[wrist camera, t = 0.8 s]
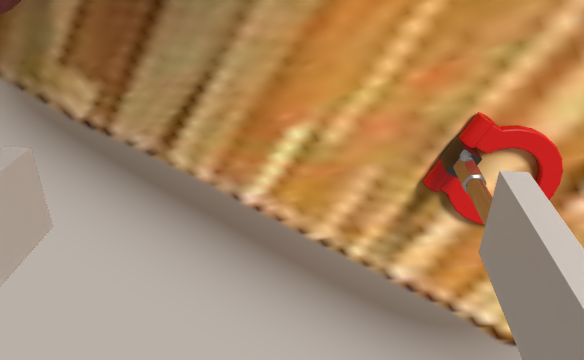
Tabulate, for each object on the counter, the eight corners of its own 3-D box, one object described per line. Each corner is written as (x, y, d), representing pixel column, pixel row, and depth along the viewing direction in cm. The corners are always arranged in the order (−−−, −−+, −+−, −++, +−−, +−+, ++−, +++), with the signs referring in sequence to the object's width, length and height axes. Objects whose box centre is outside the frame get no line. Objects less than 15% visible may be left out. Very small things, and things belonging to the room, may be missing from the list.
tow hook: (580, 154, 39) (483, 97, 37) (696, 269, 28) (562, 196, 25) (504, 232, 44) (413, 185, 42) (576, 361, 32) (452, 304, 30)
